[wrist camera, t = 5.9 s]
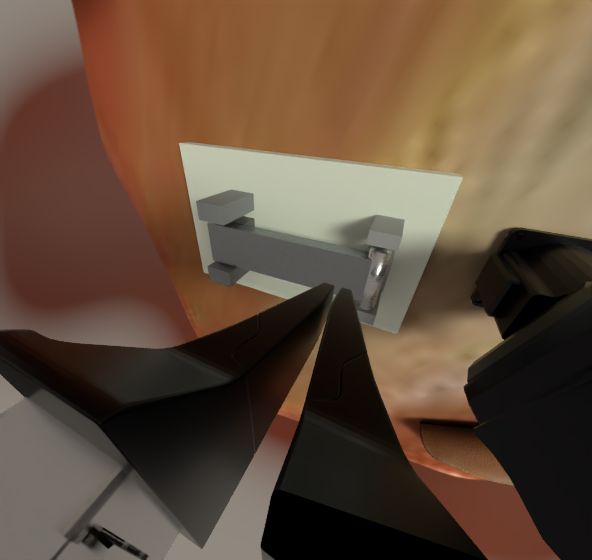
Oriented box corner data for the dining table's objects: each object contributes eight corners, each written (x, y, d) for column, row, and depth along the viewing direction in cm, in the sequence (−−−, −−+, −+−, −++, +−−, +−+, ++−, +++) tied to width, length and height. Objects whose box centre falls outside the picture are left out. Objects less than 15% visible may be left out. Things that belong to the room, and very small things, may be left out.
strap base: (459, 173, 16) (477, 192, 11) (398, 324, 24) (393, 372, 19) (191, 142, 23) (133, 146, 18) (211, 267, 31) (175, 291, 26)
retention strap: (392, 248, 16) (390, 256, 15) (375, 301, 19) (373, 312, 18) (216, 211, 21) (205, 216, 20) (222, 259, 23) (213, 266, 22)
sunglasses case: (440, 461, 32) (434, 498, 26) (424, 406, 33) (415, 431, 27) (663, 494, 22) (728, 565, 16) (629, 412, 23) (679, 454, 17)
